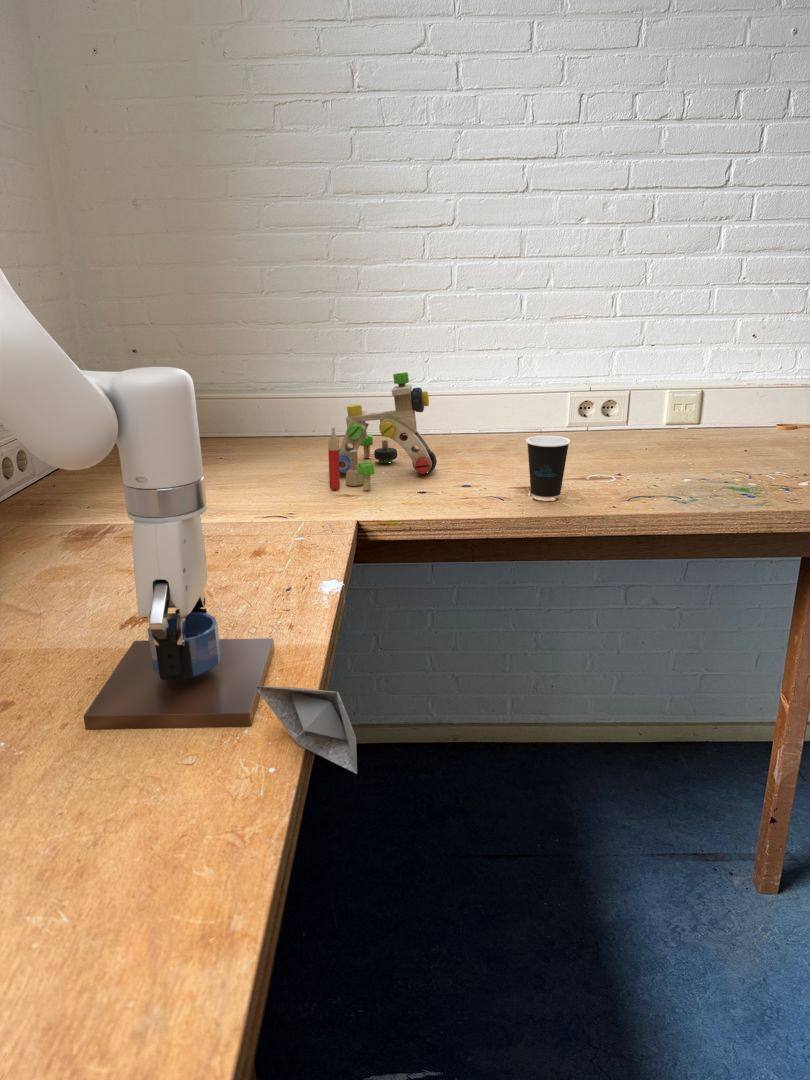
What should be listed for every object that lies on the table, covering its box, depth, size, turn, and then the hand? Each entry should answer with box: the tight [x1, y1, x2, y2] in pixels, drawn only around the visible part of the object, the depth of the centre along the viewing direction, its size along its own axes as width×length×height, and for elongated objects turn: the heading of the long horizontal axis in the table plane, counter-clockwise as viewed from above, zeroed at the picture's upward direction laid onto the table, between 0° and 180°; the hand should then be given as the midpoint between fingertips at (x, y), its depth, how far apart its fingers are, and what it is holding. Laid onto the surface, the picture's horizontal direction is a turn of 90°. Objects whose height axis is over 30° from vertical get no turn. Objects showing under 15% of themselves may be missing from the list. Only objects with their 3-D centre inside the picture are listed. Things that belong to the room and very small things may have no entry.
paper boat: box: [254, 686, 358, 775], centre depth 72 cm, size 12×6×9 cm
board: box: [83, 637, 275, 730], centre depth 84 cm, size 16×16×2 cm
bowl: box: [146, 612, 221, 677], centre depth 83 cm, size 7×7×5 cm
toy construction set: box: [327, 371, 438, 491], centre depth 161 cm, size 27×22×21 cm
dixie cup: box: [525, 435, 571, 499], centre depth 146 cm, size 8×8×11 cm
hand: (186, 658), depth 84 cm, fingers closed on bowl, 7 cm apart
